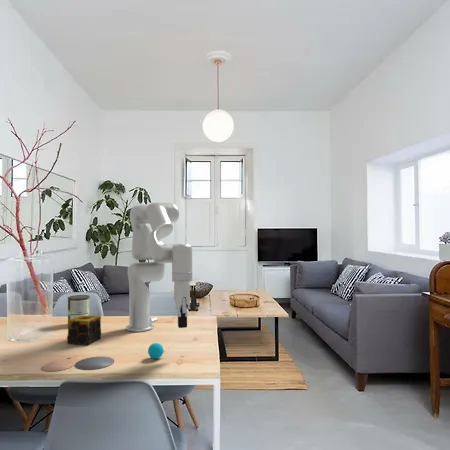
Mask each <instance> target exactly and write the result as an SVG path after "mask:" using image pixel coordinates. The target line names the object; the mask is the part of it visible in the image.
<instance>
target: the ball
mask: <svg viewBox="0 0 450 450" xmlns="http://www.w3.org/2000/svg"><path fill="white" fill-rule="evenodd" d="M147 350H148V351H147V353H148V356H149V357H150V358H151V359H154V360H155V359H156V360H157V359H159V358H161V357H162V355H163V354H164V347H163V345H162V344H161V343H160V342H153V343H151V344H150V345H149V347H148V349H147Z"/></svg>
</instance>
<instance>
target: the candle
mask: <svg viewBox="0 0 450 450" xmlns="http://www.w3.org/2000/svg"><path fill="white" fill-rule="evenodd" d="M101 320H102V317H101V315H89V316H85V315H81V316H78V317H75V318H73V319H70V320H68V319H67V335H66V336H67V337H66V338H67V339H66V340H67V342H66V343H67V345H77V346H78V345H79V346H80V345H81V346H82V345H83V346H90V345H92V344H93V343H96V342H98V341H99V340H101V339H102V338H101V337H102V326H101V325H102V324H101V322H102V321H101Z"/></svg>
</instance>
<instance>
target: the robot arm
mask: <svg viewBox="0 0 450 450" xmlns="http://www.w3.org/2000/svg"><path fill="white" fill-rule="evenodd" d="M179 218H180V211H179V208H178V207H177V205H176V204H175V203H172V202H168V203H167V202H152V203H150V204H139V205H134V206H132V207H131V209H130V212H129V221H130V224H131V228H132V240H131V242H132V243H131V255H132V256H131V257H132V258H133V259H134V260H137V261H143V262H135V263H133V262H132V264H129V266H128V268H127V278H128V284H129V285H128V286H129V290H128V291H129V300H128V301H129V303H128V304H129V311H128V312H129V316H128V317H129V321H128V325H126V327H125V330H126V331H127V332H133V333H135V332H136V333H139V332H148V331H150V330H152V329H153V328H154V325H153V323H157V322H159V321H158V318H157V317H154V318H153V317H150V316H151V315H150V314H151V313H150V312H151V309H150V307H151V306H150V305H151V302H150V299H151V297H150V296H151V294H150V293H151V292H150V289H149V287H148V286H147V284H146V283H152V282H160V281H162V280H163V279H164V277H165V268H166V266H165V264H171V281H172V282H173V283H174V286H173V307H174V308H175V310H177V312H178V313H177V327H178V328H179V329H185V328H187V327H188V314H187V313H188V310H189V309H190V305H191V303H190V301H191V300H190V297H191V294H190V292H191V289H190V283H191V282H193V247H192V245H191V244H189V243H164V241H161V240H163V239H165V238H166V237H169V236H170V235H171V233H172V232H173V230H174V225H173V223H175V222H177V221H178V220H179ZM148 224H149V225H148ZM149 260H150V261H149ZM148 261H149V262H148Z"/></svg>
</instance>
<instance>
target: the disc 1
mask: <svg viewBox="0 0 450 450" xmlns="http://www.w3.org/2000/svg"><path fill="white" fill-rule="evenodd" d="M73 366H75V364H74V361H71V360H56V361H55V360H54V361H50V362H48V363H45V364H44V365H42V366H41V370H42V371H43V372H59V371H65V370H68V369H71V368H72V367H73Z"/></svg>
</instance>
